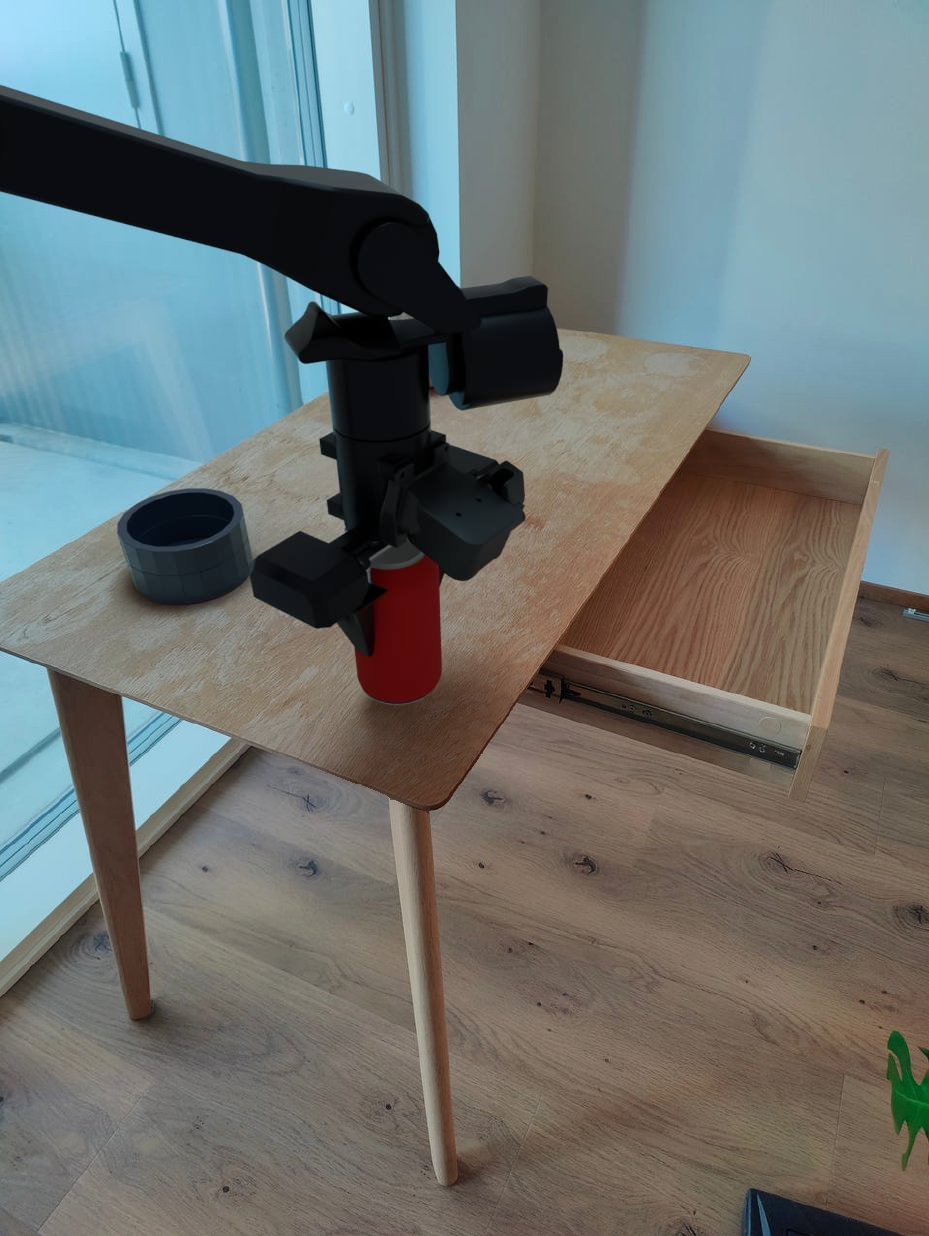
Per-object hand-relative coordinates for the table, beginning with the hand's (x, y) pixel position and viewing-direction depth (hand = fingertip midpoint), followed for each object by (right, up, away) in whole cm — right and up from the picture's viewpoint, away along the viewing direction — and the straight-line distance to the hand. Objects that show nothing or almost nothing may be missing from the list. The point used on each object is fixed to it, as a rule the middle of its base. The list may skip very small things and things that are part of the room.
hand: (396, 630), depth 58 cm
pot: (-20, +5, +18) cm, 27 cm away
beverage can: (0, -4, +3) cm, 5 cm away
